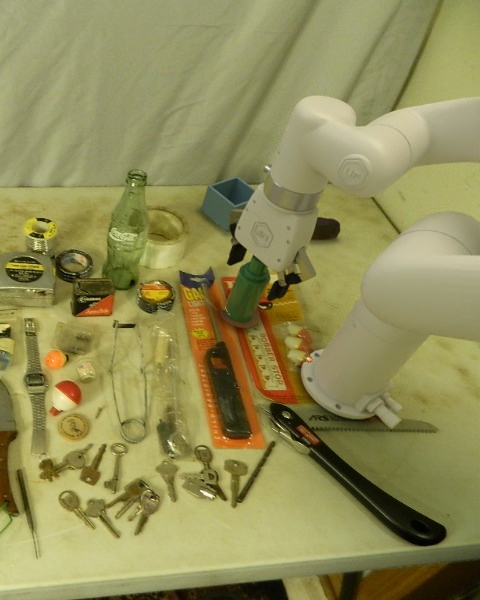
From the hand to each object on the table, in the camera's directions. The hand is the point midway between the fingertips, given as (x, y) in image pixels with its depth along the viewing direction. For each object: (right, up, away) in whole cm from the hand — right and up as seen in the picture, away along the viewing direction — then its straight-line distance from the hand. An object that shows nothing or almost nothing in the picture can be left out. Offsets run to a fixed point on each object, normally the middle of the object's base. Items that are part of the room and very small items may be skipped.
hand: (253, 279), depth 85 cm
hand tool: (+15, +10, +22) cm, 28 cm away
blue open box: (+3, +14, +25) cm, 29 cm away
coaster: (-1, -6, +6) cm, 8 cm away
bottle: (-1, -5, +6) cm, 8 cm away
